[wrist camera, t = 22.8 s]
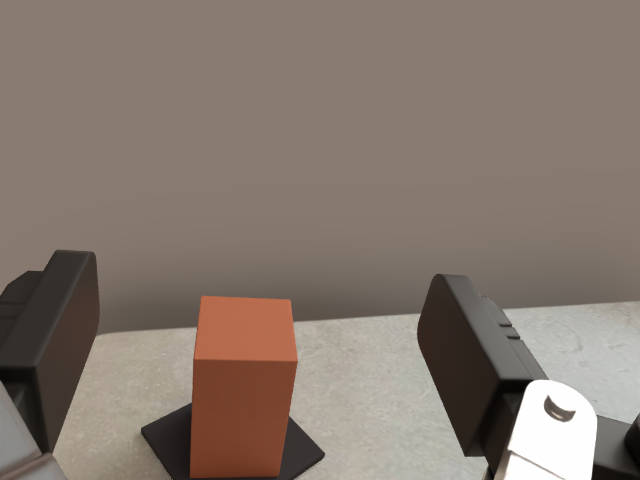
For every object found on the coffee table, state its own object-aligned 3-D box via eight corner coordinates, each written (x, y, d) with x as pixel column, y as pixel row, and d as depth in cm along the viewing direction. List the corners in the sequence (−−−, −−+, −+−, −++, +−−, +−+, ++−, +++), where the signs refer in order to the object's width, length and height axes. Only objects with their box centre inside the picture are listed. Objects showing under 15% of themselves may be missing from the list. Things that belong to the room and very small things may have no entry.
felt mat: (211, 536, 27) (212, 532, 26) (141, 432, 31) (140, 427, 31) (324, 457, 32) (325, 453, 32) (248, 378, 36) (249, 373, 36)
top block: (278, 476, 30) (297, 361, 25) (189, 478, 29) (193, 358, 24) (274, 408, 34) (290, 299, 29) (196, 408, 33) (201, 295, 29)
